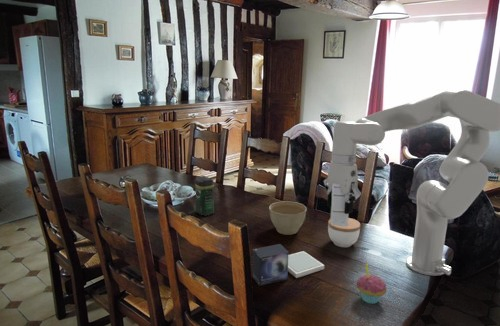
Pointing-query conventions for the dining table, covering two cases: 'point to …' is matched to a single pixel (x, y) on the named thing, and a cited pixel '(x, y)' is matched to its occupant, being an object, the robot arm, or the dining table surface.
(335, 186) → the syrup box
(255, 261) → the small box
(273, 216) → the planter bowl
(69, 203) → the dining table surface
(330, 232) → the lidded bowl
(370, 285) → the cupcake
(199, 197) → the coffee jar
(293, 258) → the plate
